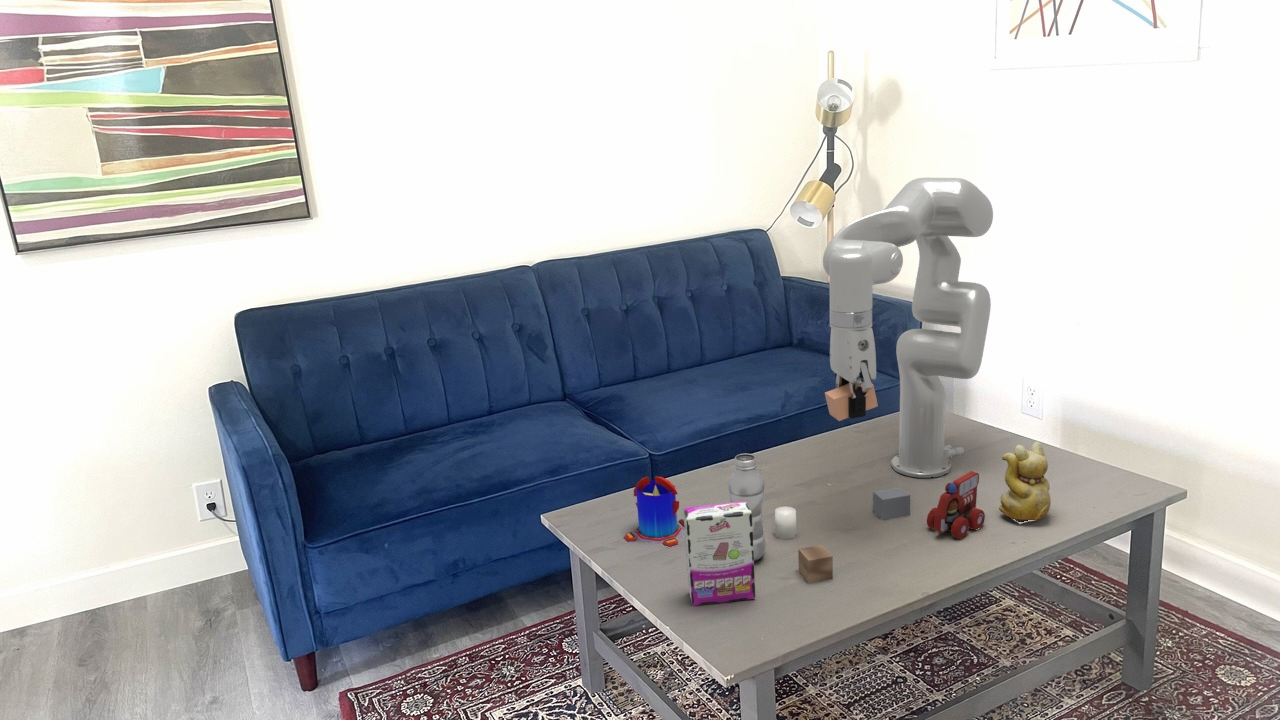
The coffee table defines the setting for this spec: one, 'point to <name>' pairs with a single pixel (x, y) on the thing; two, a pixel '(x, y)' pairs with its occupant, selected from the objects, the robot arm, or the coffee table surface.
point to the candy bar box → (719, 553)
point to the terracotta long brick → (846, 401)
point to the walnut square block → (815, 563)
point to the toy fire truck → (958, 507)
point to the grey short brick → (891, 503)
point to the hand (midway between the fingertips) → (851, 411)
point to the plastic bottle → (749, 496)
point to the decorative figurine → (1026, 484)
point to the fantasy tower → (656, 512)
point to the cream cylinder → (785, 522)
